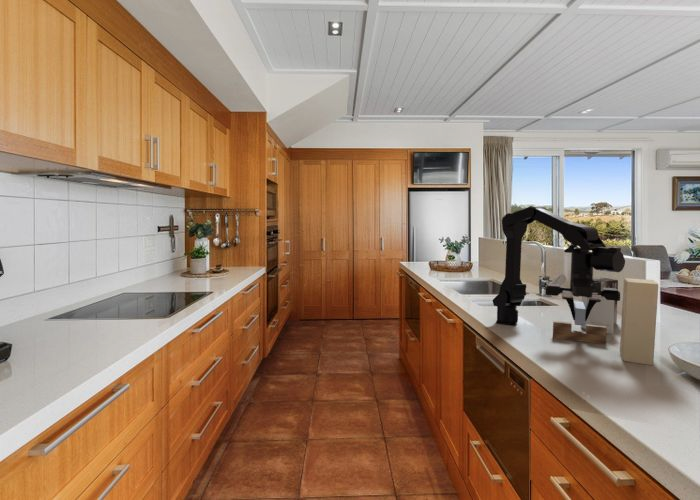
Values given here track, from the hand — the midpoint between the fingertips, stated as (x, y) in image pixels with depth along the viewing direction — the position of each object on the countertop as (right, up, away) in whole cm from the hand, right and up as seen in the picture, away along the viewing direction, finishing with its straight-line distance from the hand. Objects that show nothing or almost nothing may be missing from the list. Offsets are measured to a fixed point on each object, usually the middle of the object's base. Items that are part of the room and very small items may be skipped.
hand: (579, 320), depth 113 cm
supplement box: (+15, -6, +15) cm, 22 cm away
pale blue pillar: (+2, -1, +3) cm, 4 cm away
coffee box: (+23, -6, +25) cm, 35 cm away
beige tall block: (+8, -8, -13) cm, 17 cm away
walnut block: (+2, -7, +4) cm, 8 cm away
